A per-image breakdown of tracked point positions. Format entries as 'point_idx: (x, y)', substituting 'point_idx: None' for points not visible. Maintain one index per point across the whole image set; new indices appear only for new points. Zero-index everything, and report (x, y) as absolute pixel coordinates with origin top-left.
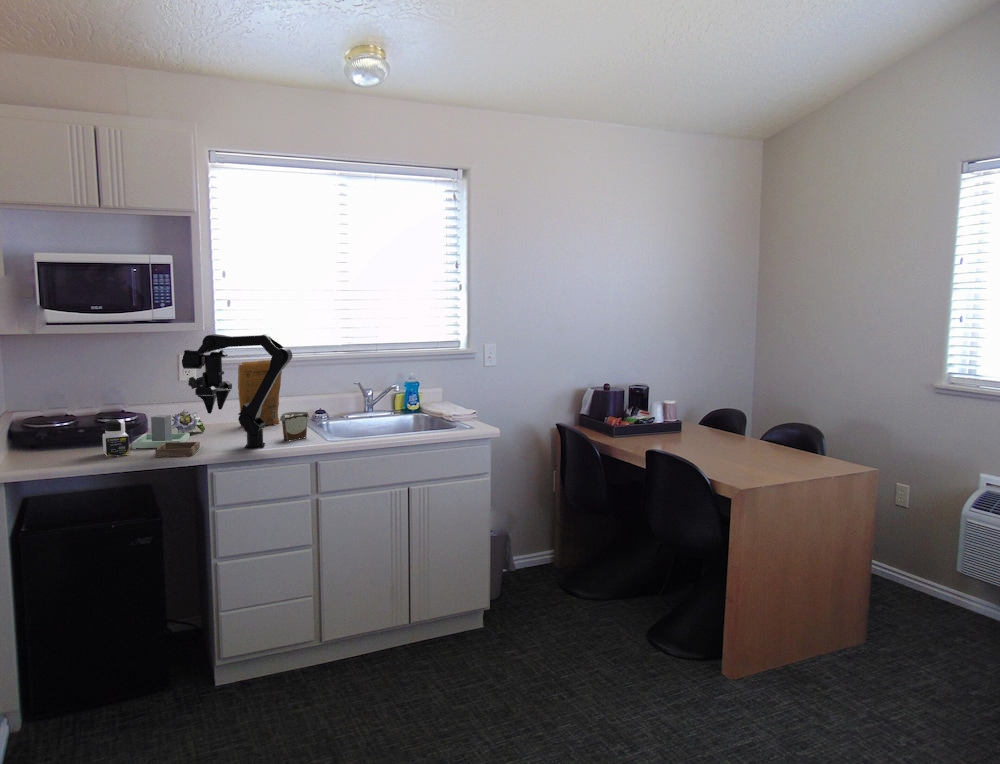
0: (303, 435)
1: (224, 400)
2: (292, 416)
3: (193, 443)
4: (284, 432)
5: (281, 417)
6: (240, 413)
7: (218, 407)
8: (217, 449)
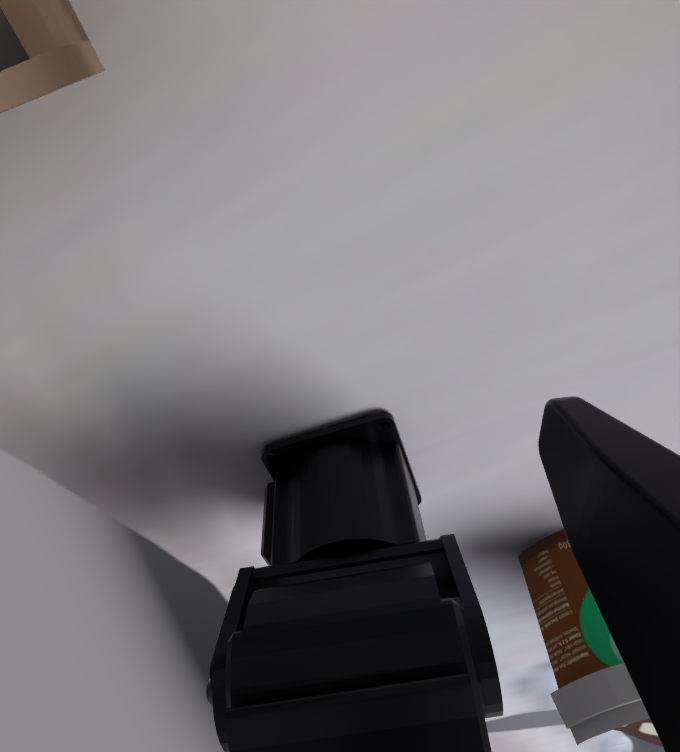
0: None
1: (658, 725)
2: (639, 735)
3: (8, 7)
4: (552, 596)
5: (603, 708)
6: (233, 740)
7: (570, 429)
8: (151, 276)
